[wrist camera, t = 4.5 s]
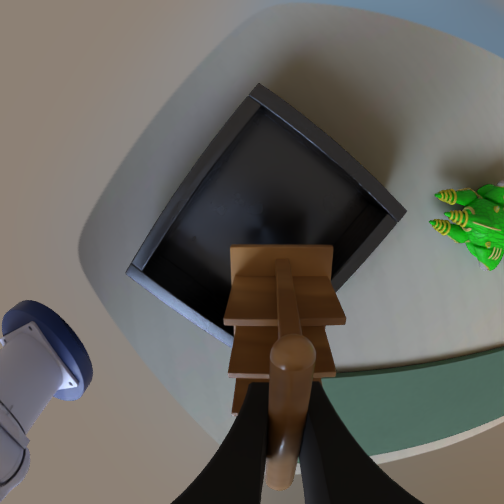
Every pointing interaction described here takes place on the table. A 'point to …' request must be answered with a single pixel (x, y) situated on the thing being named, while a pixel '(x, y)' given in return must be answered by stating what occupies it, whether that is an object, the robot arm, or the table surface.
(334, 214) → the open box
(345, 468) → the robot arm
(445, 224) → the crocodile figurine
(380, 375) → the drying mat
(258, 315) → the dish rack
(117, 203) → the table surface
